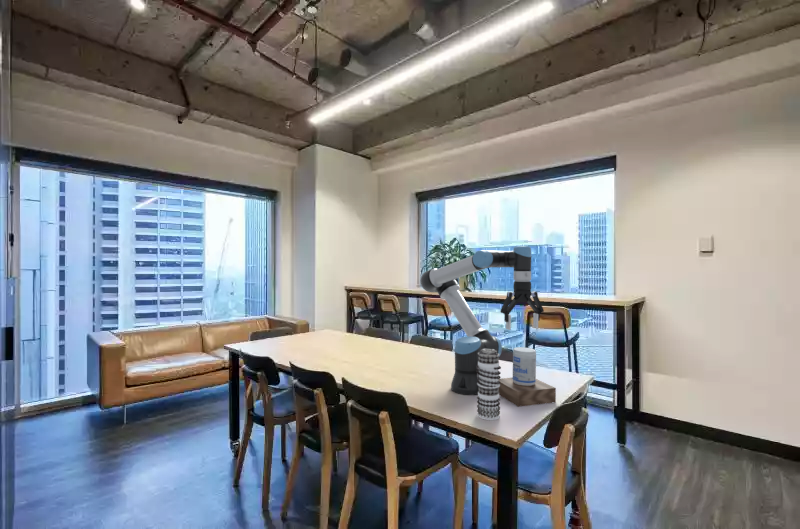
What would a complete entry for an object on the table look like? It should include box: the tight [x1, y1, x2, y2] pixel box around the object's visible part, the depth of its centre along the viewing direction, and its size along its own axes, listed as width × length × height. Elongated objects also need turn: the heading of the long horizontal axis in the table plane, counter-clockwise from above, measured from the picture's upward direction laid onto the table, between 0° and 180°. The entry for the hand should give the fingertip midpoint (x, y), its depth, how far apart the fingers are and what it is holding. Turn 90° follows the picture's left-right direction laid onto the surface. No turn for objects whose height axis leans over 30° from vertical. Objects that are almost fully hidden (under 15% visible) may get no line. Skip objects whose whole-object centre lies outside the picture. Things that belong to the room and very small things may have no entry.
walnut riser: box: [498, 377, 557, 408], centre depth 166 cm, size 18×18×6 cm
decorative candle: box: [476, 349, 502, 421], centre depth 145 cm, size 9×9×25 cm
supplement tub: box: [512, 346, 537, 386], centre depth 166 cm, size 10×10×15 cm
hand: (522, 328), depth 170 cm, fingers open, 13 cm apart
